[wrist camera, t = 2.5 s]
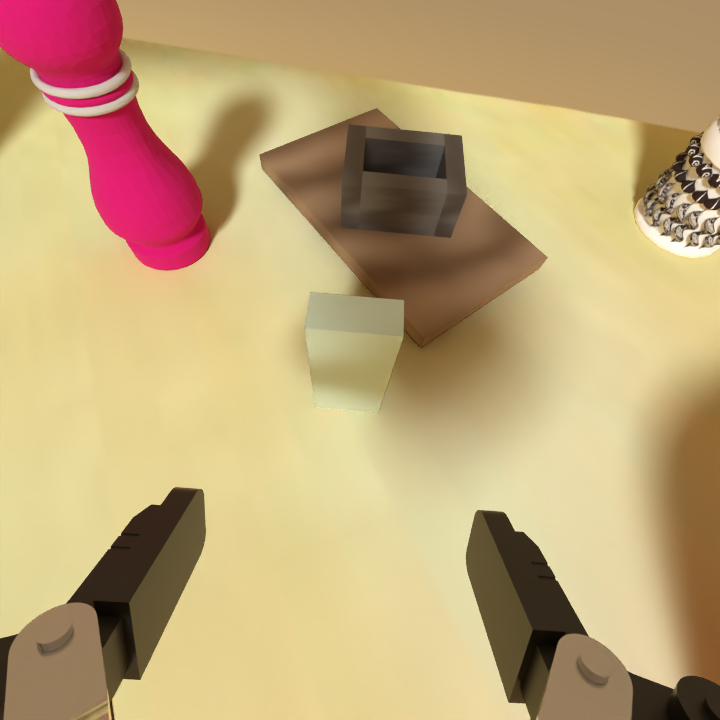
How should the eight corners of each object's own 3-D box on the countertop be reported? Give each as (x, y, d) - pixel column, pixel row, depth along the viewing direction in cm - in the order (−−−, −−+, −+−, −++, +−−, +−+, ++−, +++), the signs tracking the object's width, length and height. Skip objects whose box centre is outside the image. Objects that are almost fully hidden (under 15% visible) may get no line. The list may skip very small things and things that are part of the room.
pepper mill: (222, 266, 32) (83, -91, 14) (130, 284, 31) (-154, -85, 13) (209, 205, 35) (80, -156, 17) (125, 219, 34) (-114, -157, 16)
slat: (314, 407, 27) (304, 328, 17) (317, 381, 28) (309, 292, 18) (378, 412, 27) (403, 336, 17) (379, 386, 28) (404, 300, 18)
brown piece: (420, 348, 30) (440, 304, 24) (261, 168, 37) (250, 105, 32) (539, 268, 34) (577, 216, 29) (375, 122, 42) (381, 59, 36)
